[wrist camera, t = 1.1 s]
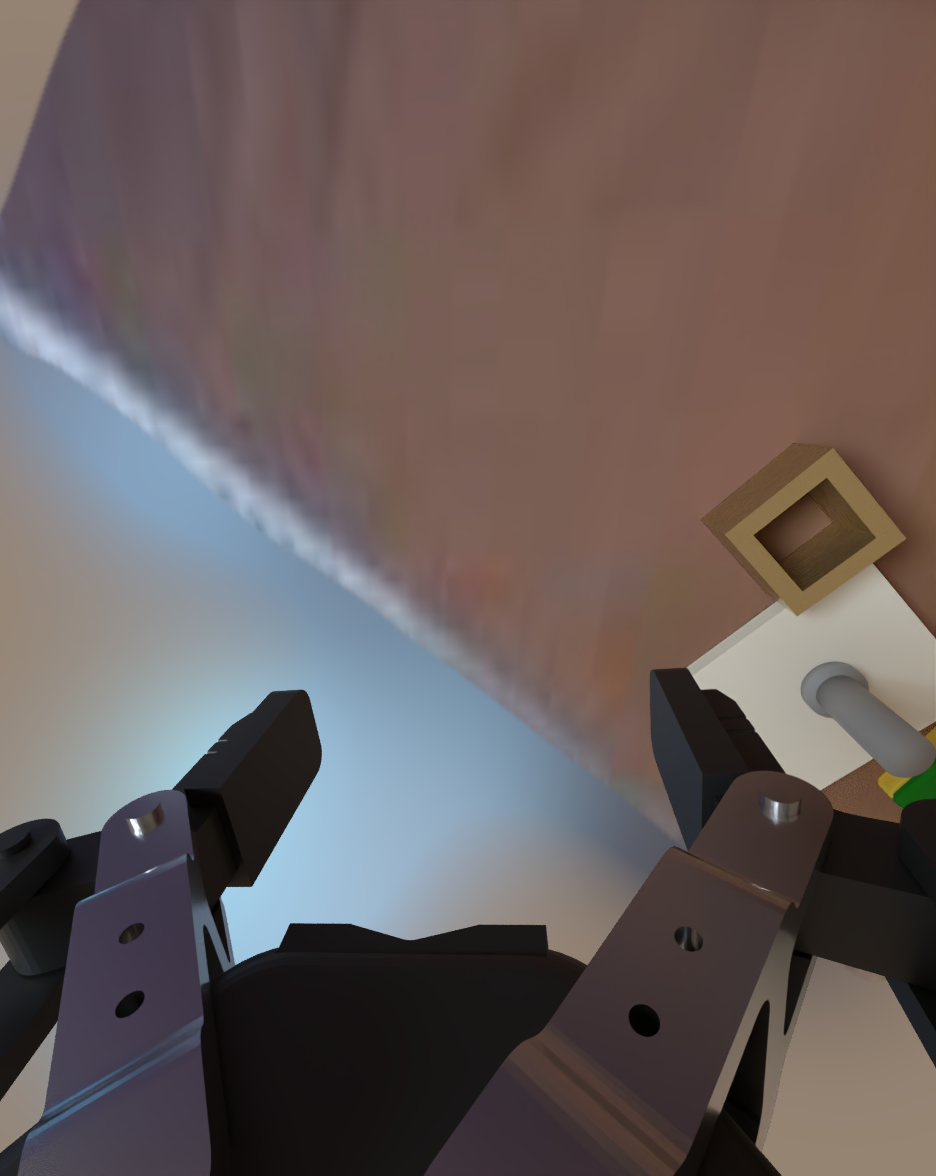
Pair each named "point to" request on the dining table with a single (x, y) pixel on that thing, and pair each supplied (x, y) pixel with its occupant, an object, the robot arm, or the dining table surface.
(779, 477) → the collar
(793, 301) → the dining table surface
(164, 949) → the robot arm
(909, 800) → the dish sponge
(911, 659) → the post board
